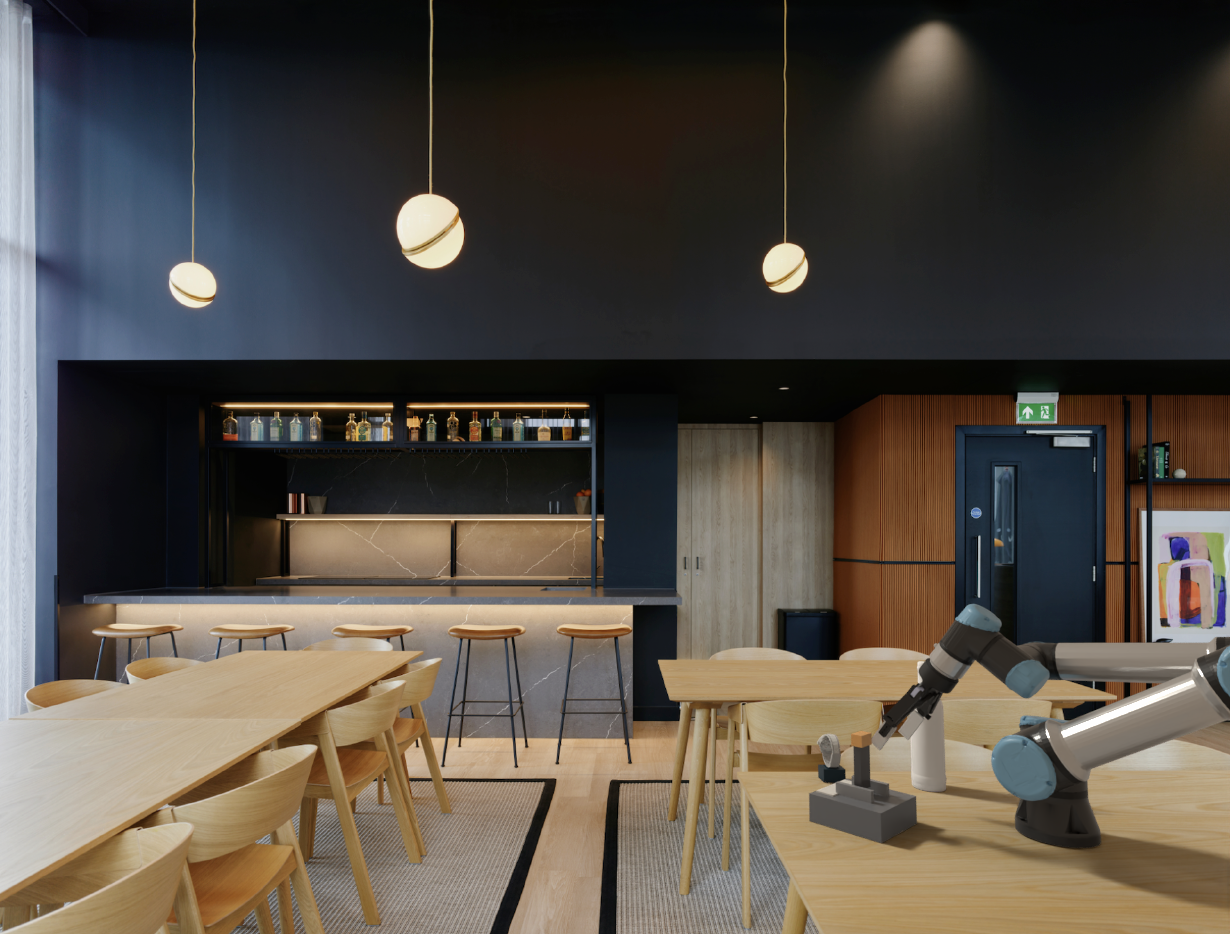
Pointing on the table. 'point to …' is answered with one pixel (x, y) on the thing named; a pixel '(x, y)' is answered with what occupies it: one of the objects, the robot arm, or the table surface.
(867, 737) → the lever
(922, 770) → the bottle
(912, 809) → the box
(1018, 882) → the table surface
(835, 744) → the watch
